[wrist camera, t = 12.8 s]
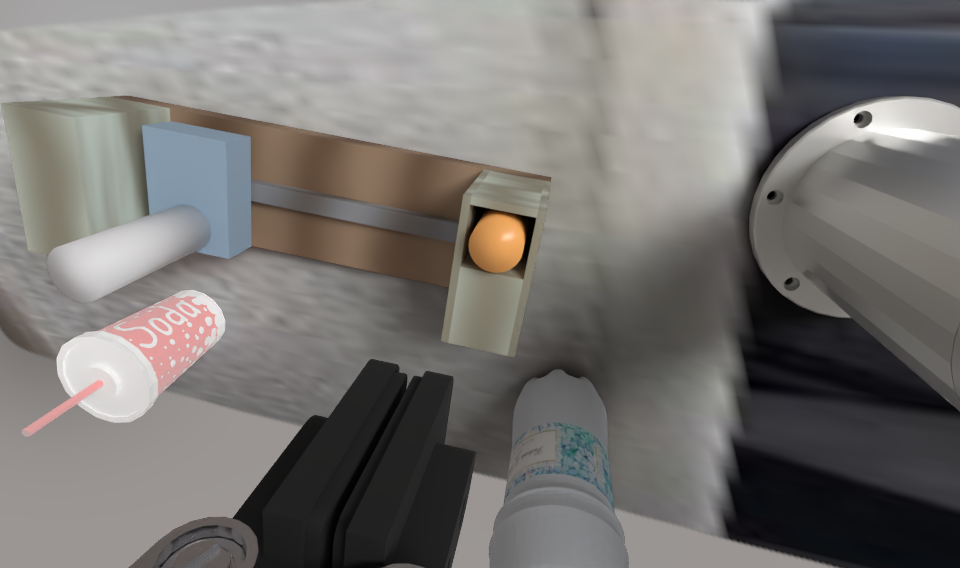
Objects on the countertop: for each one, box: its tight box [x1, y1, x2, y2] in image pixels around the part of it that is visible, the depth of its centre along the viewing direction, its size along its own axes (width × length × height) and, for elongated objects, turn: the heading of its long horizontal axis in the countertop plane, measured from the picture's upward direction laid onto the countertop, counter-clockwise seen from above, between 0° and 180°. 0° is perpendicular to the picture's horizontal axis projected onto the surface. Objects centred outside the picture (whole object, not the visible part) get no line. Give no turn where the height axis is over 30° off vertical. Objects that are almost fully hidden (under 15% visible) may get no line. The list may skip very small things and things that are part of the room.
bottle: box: [489, 369, 629, 568], centre depth 29 cm, size 7×7×20 cm
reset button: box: [469, 208, 529, 273], centre depth 27 cm, size 3×3×4 cm
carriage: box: [47, 121, 252, 303], centre depth 28 cm, size 5×7×10 cm
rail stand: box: [1, 96, 551, 358], centre depth 31 cm, size 28×8×8 cm, turn 81°
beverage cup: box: [21, 290, 225, 437], centre depth 34 cm, size 6×6×14 cm
